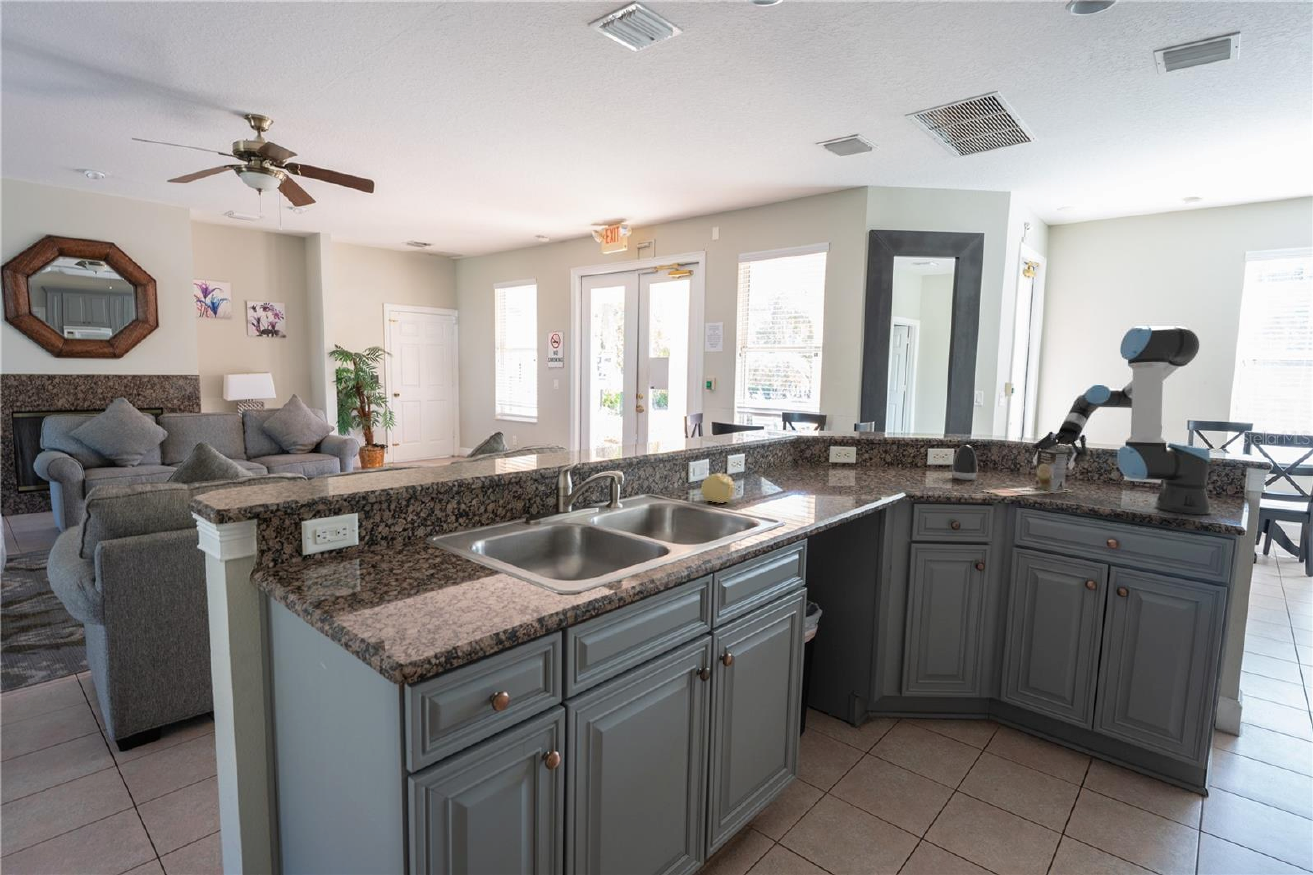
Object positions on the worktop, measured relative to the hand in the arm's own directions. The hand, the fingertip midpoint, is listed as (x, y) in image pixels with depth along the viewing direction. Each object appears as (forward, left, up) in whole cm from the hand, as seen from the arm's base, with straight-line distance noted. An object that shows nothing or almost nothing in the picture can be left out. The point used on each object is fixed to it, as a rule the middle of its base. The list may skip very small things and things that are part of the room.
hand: (1051, 465), depth 266 cm
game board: (-1, +13, -10) cm, 17 cm away
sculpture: (+16, +141, -10) cm, 142 cm away
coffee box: (-1, +2, -10) cm, 10 cm away
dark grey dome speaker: (+28, +17, -10) cm, 34 cm away
